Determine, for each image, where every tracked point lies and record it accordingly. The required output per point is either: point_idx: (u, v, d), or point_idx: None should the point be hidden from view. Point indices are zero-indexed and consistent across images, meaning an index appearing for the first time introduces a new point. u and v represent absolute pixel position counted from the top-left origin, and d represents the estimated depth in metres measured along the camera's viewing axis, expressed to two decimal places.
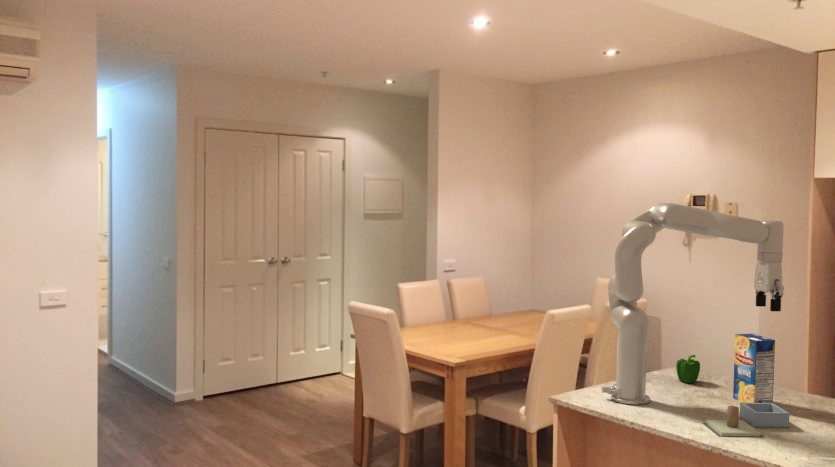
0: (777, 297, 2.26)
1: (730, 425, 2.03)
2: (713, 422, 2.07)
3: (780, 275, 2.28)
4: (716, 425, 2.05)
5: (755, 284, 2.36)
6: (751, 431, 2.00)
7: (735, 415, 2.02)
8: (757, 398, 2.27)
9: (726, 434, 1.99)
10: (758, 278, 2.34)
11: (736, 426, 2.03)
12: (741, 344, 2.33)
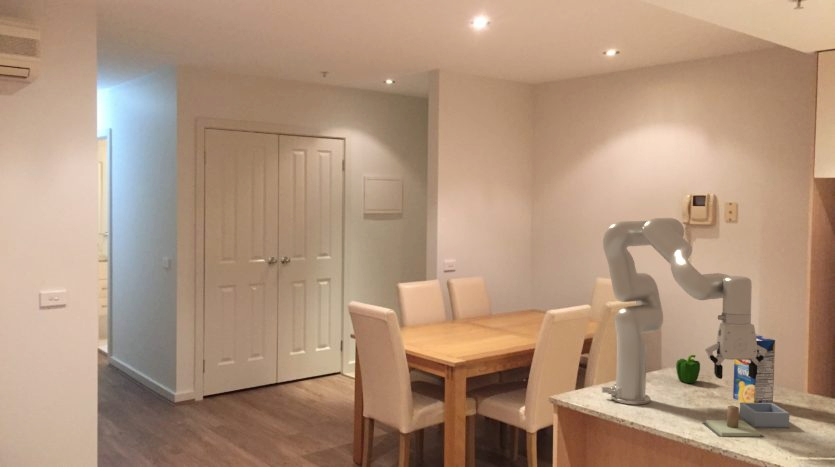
0: None
1: (730, 425, 2.03)
2: (713, 422, 2.07)
3: None
4: (716, 425, 2.05)
5: (728, 353, 2.00)
6: (751, 431, 2.00)
7: (735, 415, 2.02)
8: (757, 398, 2.27)
9: (726, 434, 1.99)
10: (735, 345, 2.00)
11: (736, 426, 2.03)
12: None
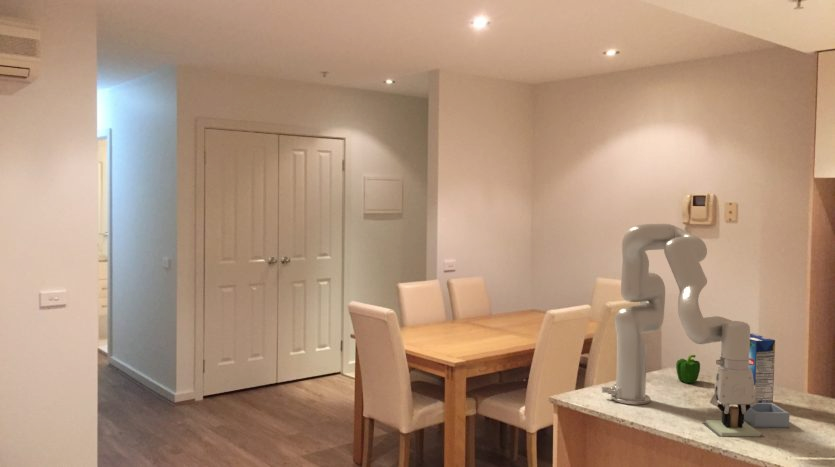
0: None
1: (730, 425, 2.03)
2: (713, 422, 2.07)
3: None
4: (716, 425, 2.05)
5: (725, 398, 2.01)
6: (751, 431, 2.00)
7: (735, 415, 2.02)
8: (757, 398, 2.27)
9: (726, 434, 1.99)
10: (733, 391, 2.01)
11: (736, 426, 2.03)
12: None
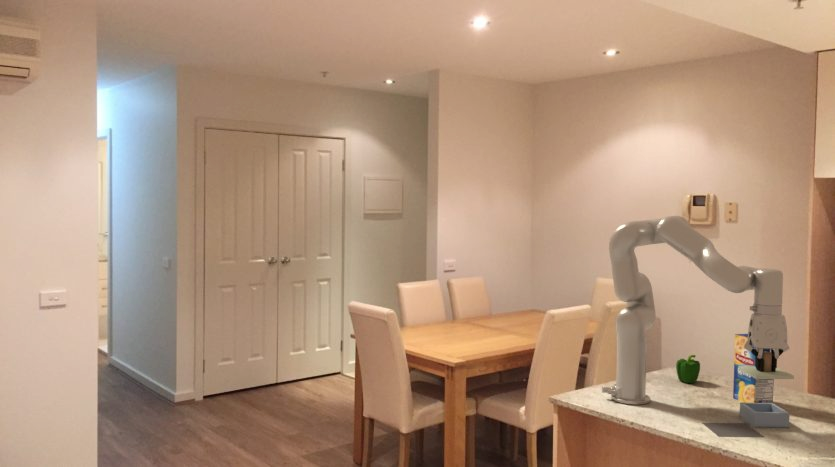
0: None
1: (764, 369, 2.09)
2: (747, 368, 2.13)
3: None
4: (750, 370, 2.11)
5: (759, 343, 2.07)
6: (784, 374, 2.06)
7: (769, 359, 2.08)
8: (757, 398, 2.27)
9: (760, 377, 2.05)
10: (766, 335, 2.07)
11: (769, 370, 2.09)
12: (741, 344, 2.33)
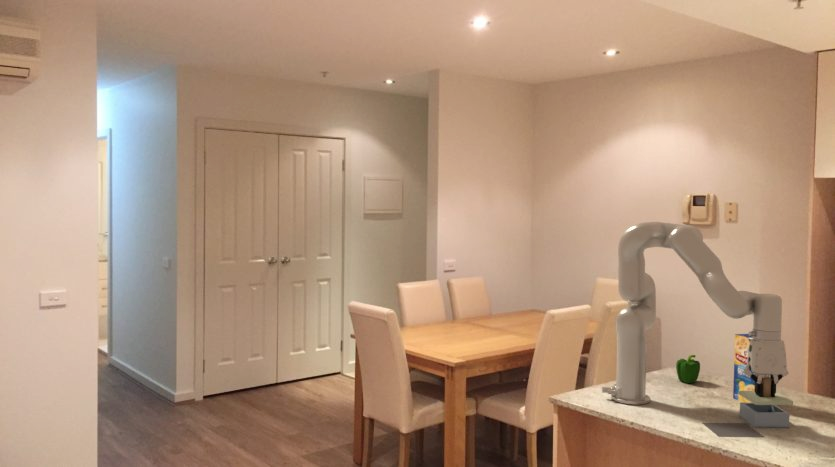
0: None
1: (763, 395, 2.09)
2: (746, 393, 2.14)
3: None
4: (749, 395, 2.11)
5: (759, 368, 2.07)
6: (784, 400, 2.06)
7: (768, 385, 2.09)
8: None
9: (760, 403, 2.05)
10: (765, 361, 2.07)
11: (769, 395, 2.09)
12: (741, 344, 2.33)
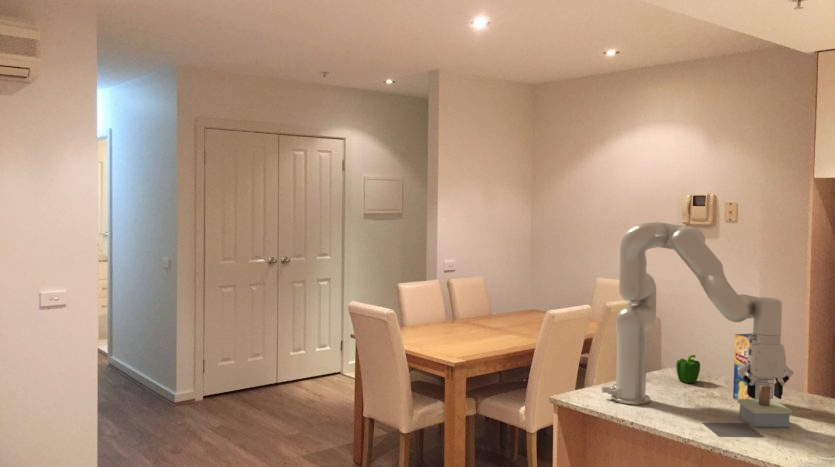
0: None
1: (762, 403, 2.10)
2: (745, 401, 2.14)
3: None
4: (748, 403, 2.11)
5: (758, 372, 2.08)
6: (783, 409, 2.06)
7: (767, 393, 2.09)
8: (757, 398, 2.27)
9: (759, 411, 2.05)
10: (765, 365, 2.07)
11: (768, 404, 2.09)
12: (741, 344, 2.33)
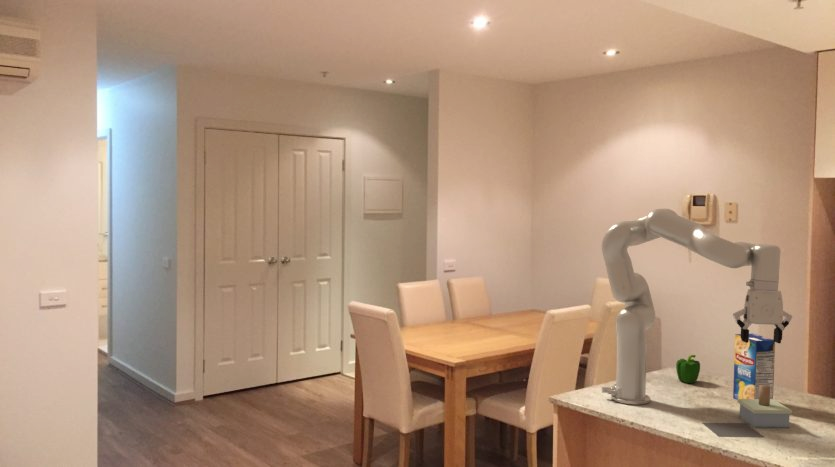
0: None
1: (762, 403, 2.10)
2: (745, 401, 2.14)
3: None
4: (748, 403, 2.11)
5: (755, 318, 2.08)
6: (783, 409, 2.06)
7: (767, 393, 2.09)
8: (757, 398, 2.27)
9: (759, 411, 2.05)
10: (762, 311, 2.07)
11: (768, 404, 2.09)
12: (741, 344, 2.33)
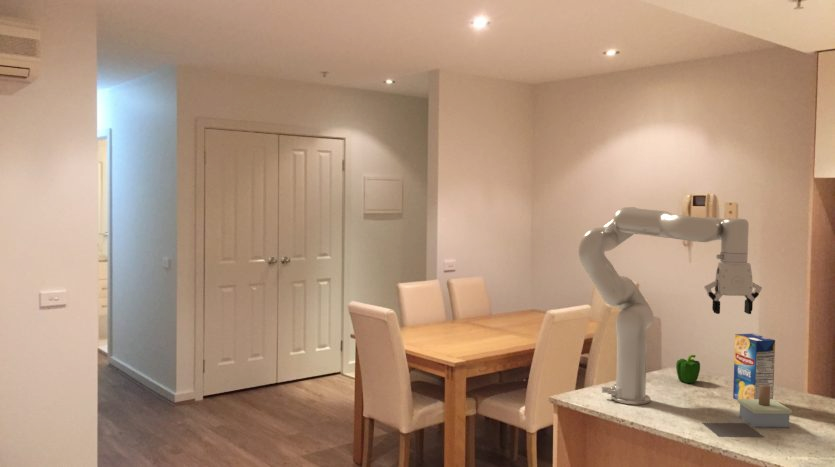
0: None
1: (762, 403, 2.10)
2: (745, 401, 2.14)
3: None
4: (748, 403, 2.11)
5: (725, 290, 2.14)
6: (783, 409, 2.06)
7: (767, 393, 2.09)
8: (757, 398, 2.27)
9: (759, 411, 2.05)
10: (732, 282, 2.14)
11: (768, 404, 2.09)
12: (741, 344, 2.33)
